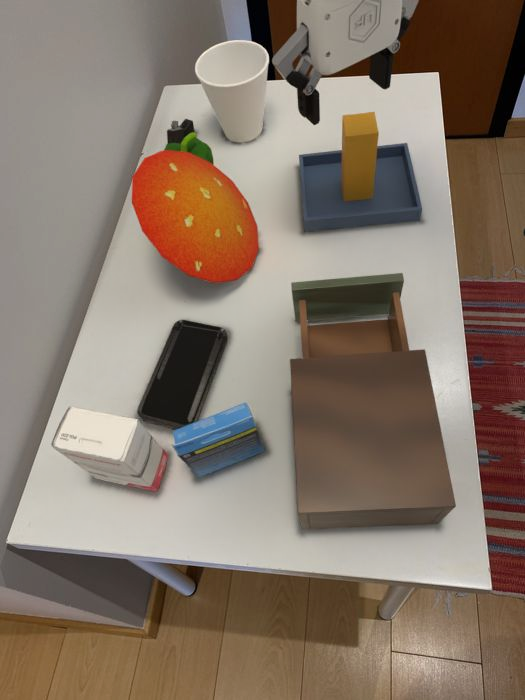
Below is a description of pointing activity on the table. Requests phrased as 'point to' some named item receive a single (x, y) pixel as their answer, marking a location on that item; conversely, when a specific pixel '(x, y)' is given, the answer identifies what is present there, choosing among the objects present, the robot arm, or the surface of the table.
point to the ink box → (111, 448)
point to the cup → (236, 86)
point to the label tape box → (218, 440)
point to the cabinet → (368, 442)
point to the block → (358, 155)
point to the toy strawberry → (195, 216)
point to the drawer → (350, 315)
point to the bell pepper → (192, 147)
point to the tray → (384, 208)
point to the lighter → (179, 131)
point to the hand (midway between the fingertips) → (344, 100)
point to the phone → (183, 374)
